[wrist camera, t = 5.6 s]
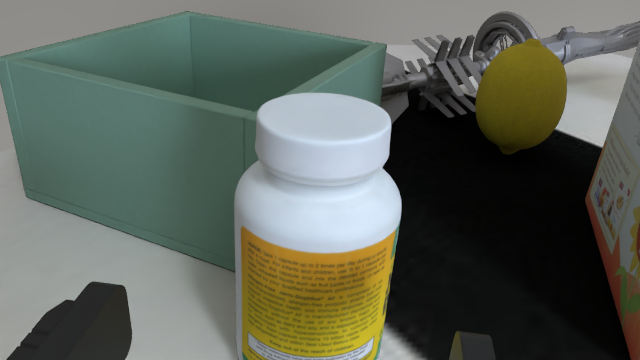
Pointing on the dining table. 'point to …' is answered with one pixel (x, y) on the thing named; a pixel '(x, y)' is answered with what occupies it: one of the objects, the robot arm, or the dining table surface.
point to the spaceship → (485, 60)
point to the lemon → (521, 96)
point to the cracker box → (621, 207)
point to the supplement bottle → (315, 231)
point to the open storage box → (166, 118)
